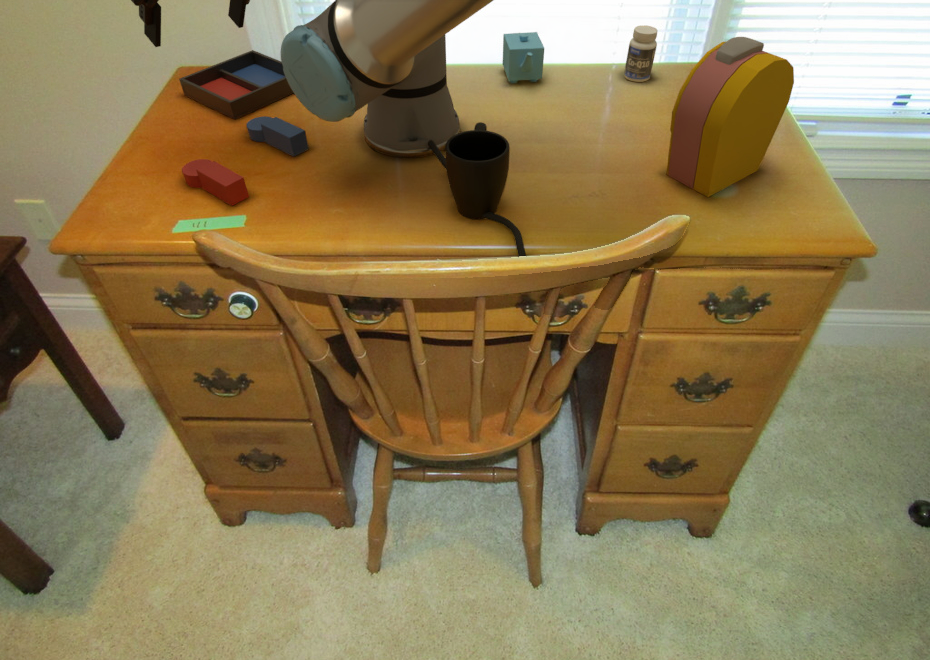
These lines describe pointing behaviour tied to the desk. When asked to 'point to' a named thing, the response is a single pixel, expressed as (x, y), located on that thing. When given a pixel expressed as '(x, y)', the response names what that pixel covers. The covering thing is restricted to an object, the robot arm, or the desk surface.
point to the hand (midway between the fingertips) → (195, 30)
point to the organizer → (238, 84)
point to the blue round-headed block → (278, 134)
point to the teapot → (523, 56)
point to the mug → (477, 170)
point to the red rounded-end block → (216, 180)
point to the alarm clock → (727, 115)
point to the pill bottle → (641, 54)
